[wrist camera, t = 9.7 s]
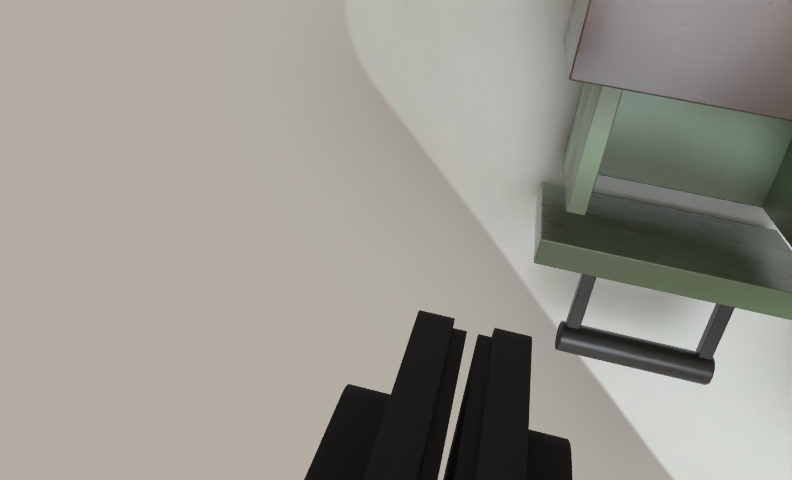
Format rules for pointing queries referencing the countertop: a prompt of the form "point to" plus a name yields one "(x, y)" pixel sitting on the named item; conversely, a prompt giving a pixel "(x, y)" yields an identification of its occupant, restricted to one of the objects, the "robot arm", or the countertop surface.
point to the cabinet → (687, 51)
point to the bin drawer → (668, 219)
